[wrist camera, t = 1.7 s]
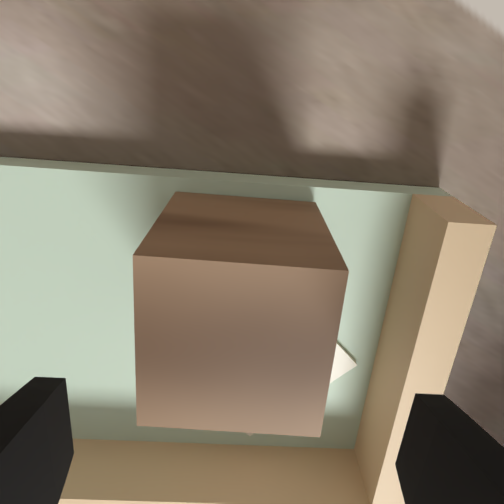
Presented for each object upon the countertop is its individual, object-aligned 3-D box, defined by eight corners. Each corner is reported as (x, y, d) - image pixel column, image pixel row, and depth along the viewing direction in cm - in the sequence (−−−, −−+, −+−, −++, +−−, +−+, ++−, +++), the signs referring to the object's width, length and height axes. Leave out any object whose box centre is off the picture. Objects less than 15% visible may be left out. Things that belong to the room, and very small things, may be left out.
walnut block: (299, 323, 18) (320, 437, 12) (174, 314, 18) (136, 425, 12) (315, 201, 16) (349, 270, 10) (175, 191, 16) (132, 255, 10)
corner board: (372, 452, 23) (399, 533, 19) (-9, 438, 22) (-63, 520, 18) (439, 187, 17) (496, 225, 13) (-70, 151, 16) (-167, 181, 12)
